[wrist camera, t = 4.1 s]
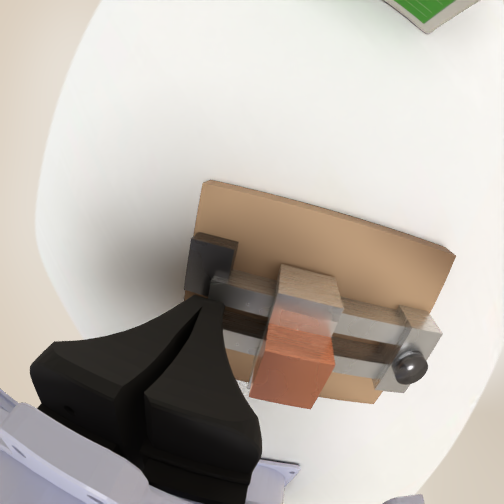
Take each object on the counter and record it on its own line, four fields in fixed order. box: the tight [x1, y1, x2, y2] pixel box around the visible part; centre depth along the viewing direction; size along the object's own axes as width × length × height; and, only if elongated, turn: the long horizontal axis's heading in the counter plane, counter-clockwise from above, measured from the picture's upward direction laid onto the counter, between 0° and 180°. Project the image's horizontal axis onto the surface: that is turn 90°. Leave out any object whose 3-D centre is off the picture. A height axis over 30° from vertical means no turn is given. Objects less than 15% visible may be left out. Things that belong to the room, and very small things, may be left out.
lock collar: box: [247, 264, 344, 409], centre depth 11 cm, size 5×2×4 cm, turn 167°
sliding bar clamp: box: [184, 232, 442, 393], centre depth 12 cm, size 6×12×3 cm, turn 77°
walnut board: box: [184, 180, 456, 404], centre depth 14 cm, size 10×12×1 cm
